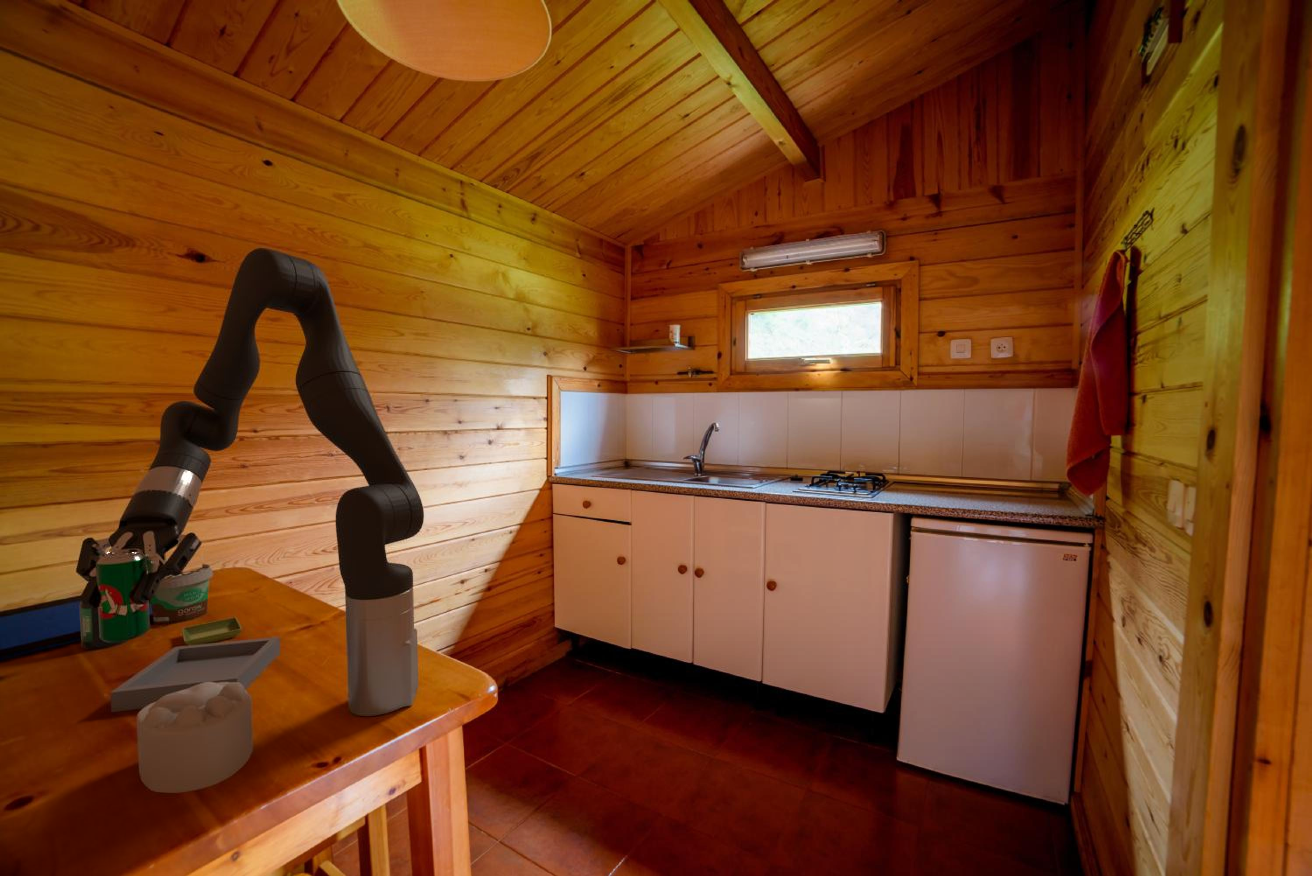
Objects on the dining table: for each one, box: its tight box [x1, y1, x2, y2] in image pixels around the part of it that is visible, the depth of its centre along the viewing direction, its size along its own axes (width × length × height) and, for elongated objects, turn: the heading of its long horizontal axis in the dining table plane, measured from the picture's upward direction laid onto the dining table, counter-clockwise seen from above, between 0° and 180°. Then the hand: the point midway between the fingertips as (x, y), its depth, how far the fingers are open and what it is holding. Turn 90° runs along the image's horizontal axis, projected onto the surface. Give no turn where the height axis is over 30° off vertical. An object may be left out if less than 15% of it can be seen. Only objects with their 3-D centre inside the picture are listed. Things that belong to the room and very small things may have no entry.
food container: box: [149, 563, 214, 626], centre depth 116 cm, size 12×6×10 cm, turn 168°
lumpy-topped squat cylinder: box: [136, 682, 254, 794], centre depth 68 cm, size 10×13×9 cm
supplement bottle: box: [78, 583, 127, 651], centre depth 104 cm, size 7×7×12 cm
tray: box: [110, 636, 281, 713], centre depth 89 cm, size 16×16×3 cm
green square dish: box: [181, 616, 243, 646], centre depth 107 cm, size 9×9×2 cm
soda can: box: [96, 549, 151, 642], centre depth 76 cm, size 5×5×12 cm
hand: (114, 603), depth 74 cm, fingers closed on soda can, 5 cm apart
